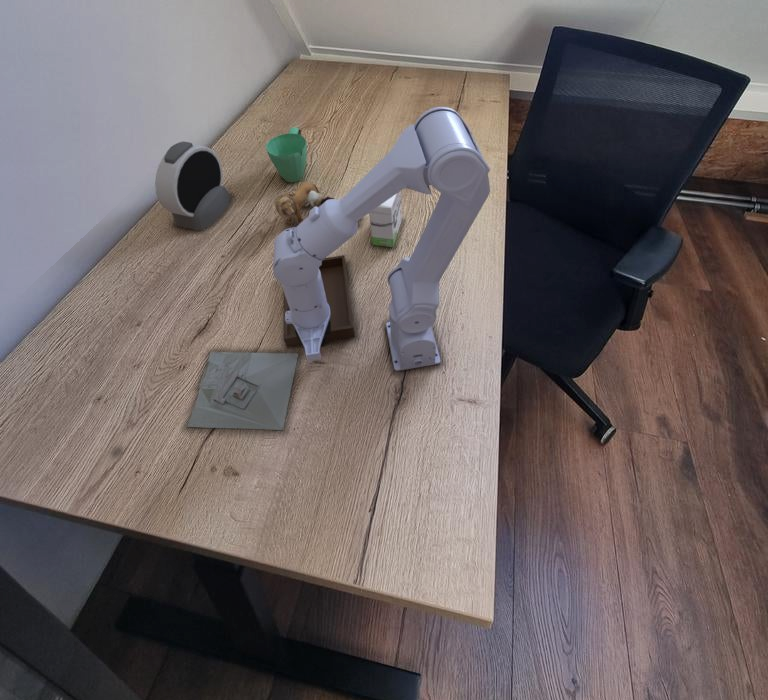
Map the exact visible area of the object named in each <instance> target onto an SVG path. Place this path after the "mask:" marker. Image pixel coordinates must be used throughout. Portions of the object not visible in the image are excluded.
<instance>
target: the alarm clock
mask: <svg viewBox="0 0 768 700" xmlns="http://www.w3.org/2000/svg"><path fill="white" fill-rule="evenodd" d="M223 179H224V178H223V167H222V163H221V161H220V158H219V156H218V154H217V153H216V152H215V151H214V150H213V149H212V148H209V147H208V146H203V145H198V144H193V143H192V142H189V141H179V142H177V143H175V144H173V145H172V146H170V147H169V148H168V149H167V151H166V152H165V154H164V155H163V157H162V159H161V160H160V162H159V164H158V166H157V169H156V173H155V179H154V180H155V181H154V186H155V195H156V198H157V200H158V203H159V204H160V205H161V206H162V208H163V209H164V210H166V211H167V212H169V213H171V214H172V217H173V220H174V224H175V226H177V227H181V228H184V229H189V230H193V231H197V232H202V231H204V230H206V229H208V228H209V227H210V226H212V225H213V224H214V223H215V222H217V220H219V218H220V217H222V215H223V214H224V213H225V212H226V210H227V209H228V207H229V204H230V203H231V200H232V196H231V195H230V193H229V192H228V189H227V188H226V187H225V186H224V185H223Z"/></svg>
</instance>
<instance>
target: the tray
mask: <svg viewBox="0 0 768 700" xmlns="http://www.w3.org/2000/svg"><path fill="white" fill-rule="evenodd" d="M347 269H348V268H347V261H346V255H345V254H344V255H343V254H341V255H336V256H335V255H334V256H328V257H326V258H325V259H324V260H323V261H322V265H321V266H320V267H319V270H320V272H321V277H322V281H323V286H324V290H325V295H326V299H327V303H328V305H329V307H330V312H331V314H330V319H329V320H331V332H330V334H329V335H327V337H326V342H331V341H337V340H343V339H344V340H345V339H349V338H355V336H356V335H355V334H356V333H355V328H354V327H355V326H354V319H353V310H352V303H351V294H350V285H349V278H348V270H347ZM287 311H290V308H289V305H288V302H287V299H286V296H285V293H284V292H283V341H284V344H285V346H286V348H293V347H300V346H303V344H302V341H301V339H298V338H297V336H296V334H295V327H294V325H293V324H287V323H286V321H285V313H286V312H287Z"/></svg>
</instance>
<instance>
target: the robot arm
mask: <svg viewBox="0 0 768 700" xmlns="http://www.w3.org/2000/svg"><path fill="white" fill-rule="evenodd" d="M490 171H491V168H490V166H489V165H488V163H487V161H486V160H485V158H484V156H483V154H482V152H481V150H480V149H479V146H478V144H477V142H476V141H475V138H474V137H473V133H472V131H471V129H470V127H469V126H468V124H467V123H466V122H465V120H464V119H463V118H462V116H461V115H460V114H459V112H457V111H456V110H455V109H454V108H451V107H448V106H447V107H446V106H435V107H431V108H430V109H427V110H426V111H424V112H423V113H422V114H421V115H420V116H418V118H417V119H416V121H415V123H411V124H409V125H408V126H407V127H406V128H404V129H403V130H402V132H401V134H400V135H399V137H398V138H397V140H396V141H395V143H394V145H393V146H392V148H391V149H390V150H389V152H388V153H386V154H385V155H384V156H383V158H381V159H380V160H379V162H377V163H376V164H375V165H374V166H373V167H372V169H370V170H369V171H368V172H367V173H366V174H365V175H364V176H363V177H362V178H361V179H360V180H359V181H358V182H357V183H356V184H355V185H354V186H353V187H352V188H351V189H350V190H349V191H348V192H347V193H346V194H344V196H343V197H342V198H341V199H339V198H335V199H329V200H327V201H325V202H324V203H323V204H322V205H321V204H320V205H319V206H317V205H315V206H313V207H312V208H311V209H310V210H309V212H308V213H309V215H308V216H307V217H306V218H305V219H303V222H301V223H300V224H298V225H296V227H289V228H286V229H285V230H283V231H281V232H280V233H279V234H278V235H277V236H276V238H275V239H274V243H273V261H272V262H273V263H272V270H273V277H274V278H275V280H276V281H277V282H278V283H280V284H281V286H282V290H283V294H284V293H285V296H286V299H287V302H288V305H289V308H290V311H287V312H286V313H285V321H286V323H287V324H293V325H294V327H295V334H296V336H297V338H298V339H301V341H302V344H303V345H302V346H303V348H304V353H305V354H304V355H305V358H306V361H307V362H309V363H310V362H315V361H316V362H317V361H321V360H322V354H321V348H323V347H326V344H327V341H326V337H327V335H329V334H330V332H331V320H329V319H330V314H331V312H330V307H329V305H328V303H327V299H326V295H325V290H324V286H323V281H322V277H321V272H320V270H319V267H320V266H321V265H322V261H323V260H324V259H325V258H328V257H330V255H331V254H333V253H334V252H335V251H336V250H338V249H339V248H340V247H341V246H343V245H344V244H346V242H348V241H349V240H351V238H353V237H354V236H355V235H356V234H357V233H358V228H359V226H358V223H359V221H360V220H361V219H362V218H364V217H365V216H366V215H369V213H370V212H371V211H372V210H374V209H375V208H377V207H378V206H380V205H381V204H382V203H384V202H385V201H387V200H388V199H390V198H391V197H393V196H394V195H395V194H397V193H398V192H400V191H401V192H402V190H404V189H405V190H407V189H408V190H411V191H415V192H418V193H422V194H424V195H432V191H431V187H430V186H432V188H433V189H435V190H436V191H437V192H439V193H441V194H440V196H439V198H438V201H437V203H436V205H435V206H434V209H433V211H432V213H431V215H430V217H429V219H428V220H427V223H426V225H425V227H424V229H423V230H422V233H421V234H420V235H421V236H420V238H419V240H418V242H417V244H416V246H415V247H414V250H413V252H412V253H411V255H410V257H409V256H408V257H402V258H401V259H400V261H399V263H398V264H397V266H395V267H394V268H393V269H392V270H391V271H390V272H389V273H388V274H387V284H388V285H389V289H390V295H391V301H390V303H389V308H388V311H389V312H388V313H389V321H387V322H386V323H385V326H386V333H387V337H388V344H389V348H390V349H389V350H390V353H391V360H392V365H393V369H394V371H395V372H398V371H399V372H400V371H405V370H411V369H416V368H423V367H428V366H435V365H439V364H440V363H441V357H440V353H439V349H438V346H437V342H436V338H435V333H434V330H433V325H434V324H435V323H436V321H437V310H438V308H439V307H440V281H441V279H442V277H443V276H444V274H445V273H446V271H447V270H448V267H449V265H450V264H451V262H452V260H453V258H454V257H455V255H456V253H457V251H458V250H459V248H460V246H461V245H462V243H463V241H464V239H465V237H466V236H467V234H468V232H469V231H470V229H471V227H472V225H473V223H474V222H475V220H476V219H477V217H478V215H479V213H480V211H481V209H482V208H483V206H484V204H485V202H486V201H487V199H488V198H489V195H490V193H491V187H490V177H489V173H490ZM359 219H360V220H359ZM358 220H359V221H358Z"/></svg>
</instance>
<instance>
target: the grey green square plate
mask: <svg viewBox="0 0 768 700" xmlns="http://www.w3.org/2000/svg"><path fill="white" fill-rule="evenodd" d="M298 357H299V353H291V352H290V353H289V352H288V353H287V352H286V353H285V352H238V351H237V352H235V351H234V352H233V351H211V352H210V354H209V357H208V359H207V361H206V365H205V367H204V371H203V374H202V376H201V379H200V381H199V385H198V389H199V391H198V394H197V398H196V400H195V403H194V406H193V408H192V412H191V413H190V417H189V420H188V423H187V428H204V429H205V428H206V429H207V428H209V429H235V430H236V429H237V430H238V429H240V430H270V431H274V430H275V431H284V428H285V423H286V417H287V412H288V407H289V401H290V397H291V392H292V388H293V382H294V377H295V372H296V368H297V362H298Z"/></svg>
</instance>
